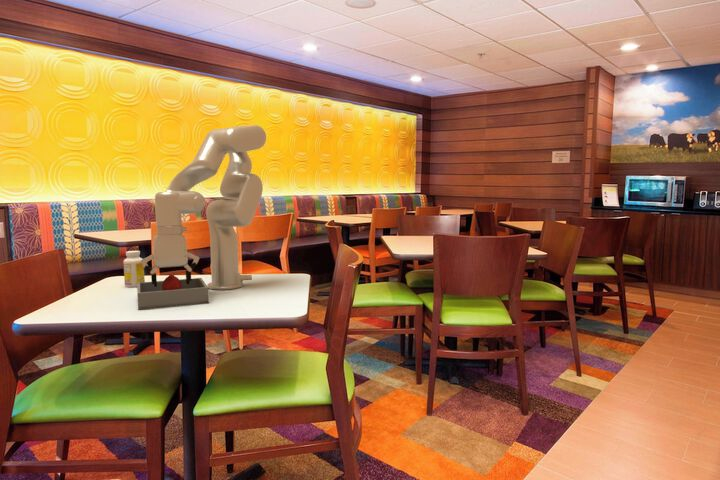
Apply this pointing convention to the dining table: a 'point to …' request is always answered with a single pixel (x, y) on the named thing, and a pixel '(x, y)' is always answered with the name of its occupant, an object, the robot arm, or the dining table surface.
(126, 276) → the supplement bottle
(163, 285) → the onion
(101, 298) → the dining table surface
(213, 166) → the robot arm
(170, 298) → the bin
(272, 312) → the dining table surface
